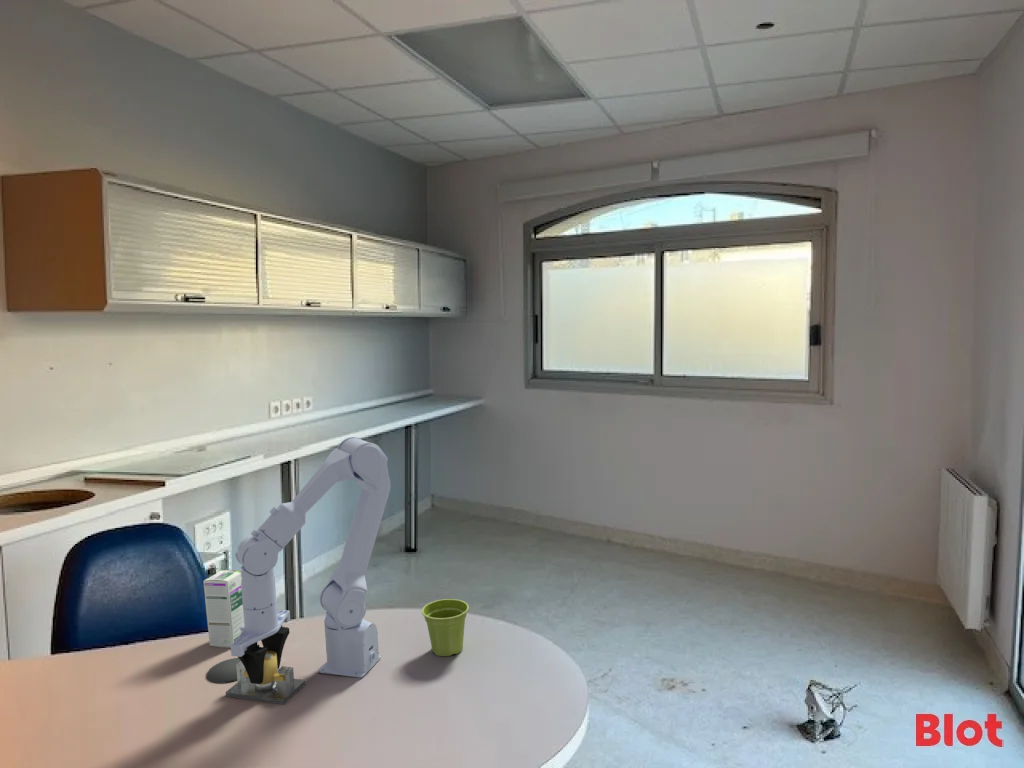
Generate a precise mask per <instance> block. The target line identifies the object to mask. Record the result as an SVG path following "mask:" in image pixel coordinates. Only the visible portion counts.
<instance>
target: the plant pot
mask: <svg viewBox="0 0 1024 768" xmlns="http://www.w3.org/2000/svg"><path fill="white" fill-rule="evenodd" d="M469 607H470V605H469V604H468V603H467V602H466V601H464V600H461V599H457V598H456V599H453V598H445V599H437V600H433V601H432V602H428V603H426V604H425V605H424V606H423V607H422V608H421V614H422V616H423V618H424V619H425V620H424V621H425V622H426V626H427V631H428V635H429V641H430V645H431V650H432V651H431V652H433V653H434V654H435V655H436V656H437V657H438V656H439V657H450V656H453V655H455V654H459V653H461V652H462V650H463V648H464V647H463V646H464V637H465V635H464V633H465V625H466V624H465V623H466V618H467V614H468V611H469Z"/></svg>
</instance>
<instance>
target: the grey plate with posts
mask: <svg viewBox="0 0 1024 768" xmlns="http://www.w3.org/2000/svg"><path fill="white" fill-rule="evenodd" d="M236 668H237V681H236V682H237V683H235V684H234V685H233V686H231V687H230V688H228V690H226V691H225V697H228V698H235V699H242V700H248V701H249V700H250V701H254V702H255V701H256V702H257V701H258V702H263V703H264V702H265V703H270V704H276V705H277V704H279V705H285V704H286V703H287V702H288V701H290V699H291V698H293V696H294V695H296V693H298V692H299V691H300V690H301V689H302V688H303V687H304V686H305V685H306V684H307V683H306V679H301V678H300V679H299V678H295V676H294V673H295V672H294V667H293V666H292V667H291V666H284V665H281V667H279V669H278V674H284V675H286V679H285V680H284V681H283V682H281V681H272V682H269V683H266V684H254V683H251V682H250V679H249V677H244V672H245V670H246V669H245V667H244V665H243V663H242V662H239V663H238V664H237V665H236Z"/></svg>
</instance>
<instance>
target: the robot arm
mask: <svg viewBox="0 0 1024 768" xmlns="http://www.w3.org/2000/svg"><path fill="white" fill-rule="evenodd" d="M388 460H389V458H388V456H387V455H386V454H385V453H384V451H383V449H381V447H380V446H379V445H377V444H375V443H373V442H368V441H366V440H363V439H361V438H360V437H356V436H350V437H347V438H344V439H343V440H342V441H341V442H340V443H339V444H338V446H337V447H336V448H334V449H333V450H332V451H330V453H329V454H328V456H327V458H326V459H325V460H324V462H323V463H322V464H321V466H320V467H319V468H318V469H317V471H316V472H315V473H314V474H313V475H312V476H311V478H310V479H309V480H308V481H307V482H306V484H305V485H304V486H303V487H302V489H300V491H299V492H298V493H297V495H296V496H295V497H294V498H293V499H292V501H289V502H282V503H280V504H279V506H278V507H276V506H273V507H272V508H271V509H270V511H269V513H270V515H269V516H268V517H267V518H266V519H265V521H264V522H262V524H261V525H260V526H259V527H258V528H257V529H255V528H254V529H253V530H252V532H251V533H250V534H251V535H250V536H249V537H246V538H244V539H243V540H242V541H241V542H240V543H239V545H238V547H237V550H236V552H235V555H234V556H235V558H236V560H237V562H238V563H239V564H240V565H241V566H240V571H241V577H242V580H241V588H242V601H243V613H244V625H242V626H241V627H240V630H241V631H242V633H241V634H240V635H239V637H238V638H237V640H236V641H235V642H234V643H233V644H232V645H231V648H230V654H231V657H236V658H239V659H240V660H241V662H242V663H243V665H244V667H245V669H246V671H247V674H248V677H249V679H250V682H251V683H254V684H261V683H262V682H263V675H264V659H265V654H266V651H274V652H276V654H277V667H278V670H279V669H280V668H281V667H280V666H281V661H282V656H283V650H284V647H285V644H286V641H287V639H288V636H289V635H290V633H291V632H290V627H287V626H283V624H284V623H289V622H290V621H291V613H290V611H291V610H287V609H285V610H284V609H280V610H278V604H277V603H278V601H277V590H276V589H277V588H276V587H277V586H276V577H275V569H274V568H275V567H276V565H277V563H278V559H279V554H280V552H281V551H282V550H283V549H284V548H285V547H286V546H287V545H288V544H289V542H291V540H292V539H293V538H294V537H295V536H296V535H297V533H299V531H301V529H302V528H303V527H304V526H305V524H306V514H307V513H308V512H309V511H310V510H311V509H312V508H313V507H314V506H315V504H317V503H318V502H319V501H320V500H321V499H322V498H323V496H325V495H326V494H327V492H329V491H330V490H331V488H333V486H335V485H336V483H338V482H344V481H351V480H354V479H355V481H356V482H357V484H358V485H359V487H360V488H361V490H360V494H359V498H358V501H357V505H356V506H355V510H354V514H353V518H352V521H351V524H350V527H349V531H348V533H347V537H346V540H345V544H344V547H343V551H342V555H341V558H340V560H339V564H338V567H337V568H336V569H335V570H334V571H333V572H332V573H331V574H330V577H329V580H328V581H327V584H326V585H324V587H323V588H322V590H321V592H320V595H319V604H320V606H321V607H322V608H323V610H324V611H326V614H325V617H324V634H325V636H324V637H325V651H326V662H324V664H322V666H320V667H319V668H318V670H317V672H318V673H320V674H327V675H336V676H343V677H344V676H345V677H351V678H352V677H353V678H354V677H355V678H360V679H361V678H364V676H366V674H367V673H368V672H369V671H370V670H371V669H372V668H373V667H374V666H375V665H376V664H377V663H378V661H379V660H380V659H381V656H382V655H380V654H379V653H380V652H379V638H378V637H379V636H378V634H379V633H378V627H377V625H376V624H375V623H374V622H370V621H368V620H367V619H365V618H364V617H365V616H366V612H367V603H366V602H367V601H366V597H367V592H368V587H367V586H368V585H367V580H366V573H367V570H368V567H369V563H370V560H371V556H372V553H373V549H374V547H375V543H376V539H377V536H378V532H379V529H380V526H381V522H382V519H383V516H384V512H385V508H386V505H387V502H388V498H389V495H390V492H391V489H392V488H391V487H392V484H391V479H390V474H389V469H388ZM260 641H261V644H262V646H260V644H258V642H260Z"/></svg>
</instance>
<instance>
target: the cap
mask: <svg viewBox="0 0 1024 768" xmlns="http://www.w3.org/2000/svg"><path fill="white" fill-rule="evenodd" d="M278 670H279V669H278V667H277V654H276V652H274V651H266V654H265V659H264V675H263V682H262V683H261V684H266V683H269V682H272V681H281V682H283V681H284V680H285V679H286V675H284V674H278ZM244 677H248V674H247V671H245V672H244Z"/></svg>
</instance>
